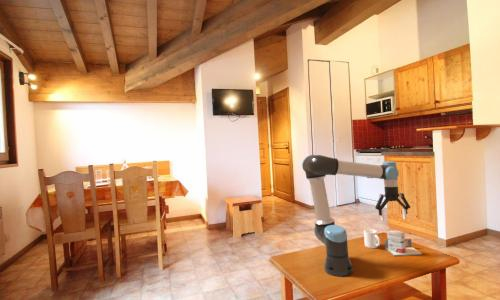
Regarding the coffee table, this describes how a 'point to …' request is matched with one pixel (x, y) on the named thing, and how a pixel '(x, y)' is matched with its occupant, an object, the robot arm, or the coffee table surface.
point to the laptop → (409, 249)
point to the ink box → (396, 241)
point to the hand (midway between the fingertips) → (393, 220)
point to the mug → (371, 238)
